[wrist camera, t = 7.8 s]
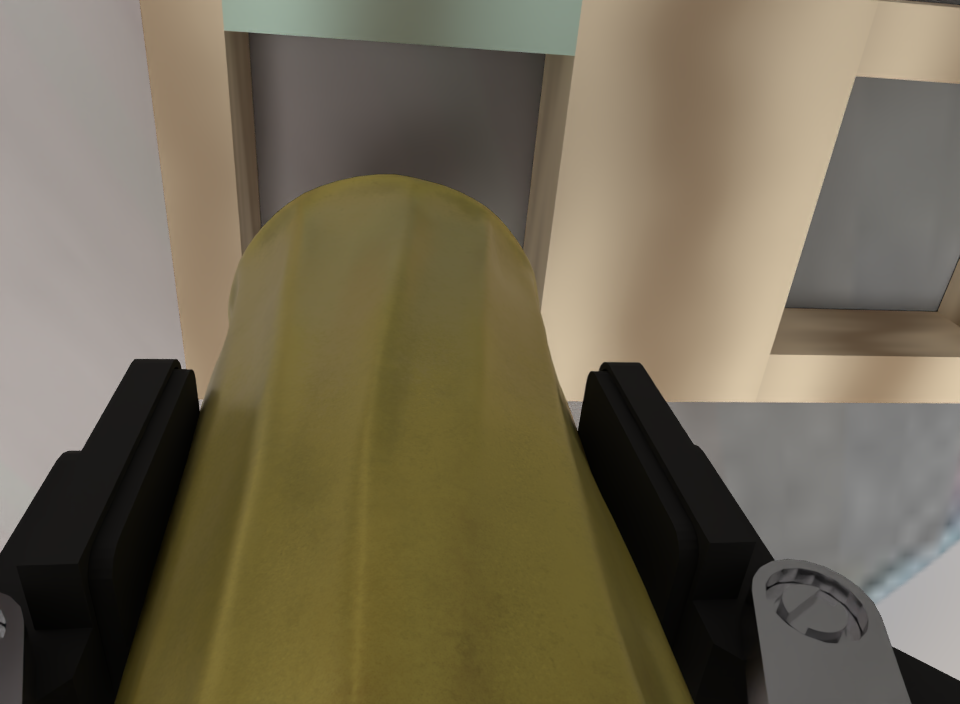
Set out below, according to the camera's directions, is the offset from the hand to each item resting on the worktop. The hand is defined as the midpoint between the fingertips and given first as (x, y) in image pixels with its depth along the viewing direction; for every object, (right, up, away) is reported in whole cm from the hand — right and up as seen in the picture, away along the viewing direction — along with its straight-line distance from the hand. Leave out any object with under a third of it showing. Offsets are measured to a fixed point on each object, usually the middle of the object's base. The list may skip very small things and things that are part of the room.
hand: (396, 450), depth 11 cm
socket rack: (+7, +7, +13) cm, 16 cm away
